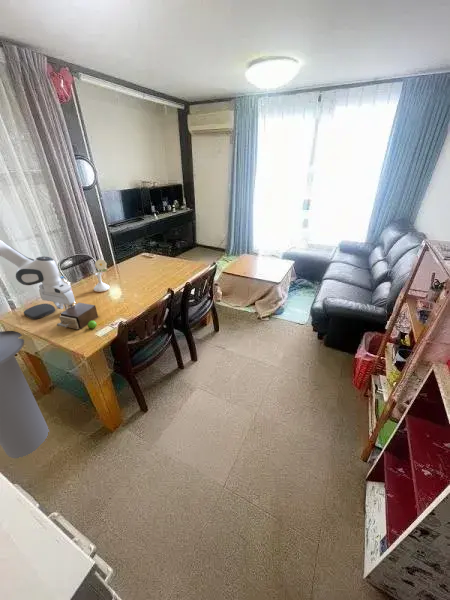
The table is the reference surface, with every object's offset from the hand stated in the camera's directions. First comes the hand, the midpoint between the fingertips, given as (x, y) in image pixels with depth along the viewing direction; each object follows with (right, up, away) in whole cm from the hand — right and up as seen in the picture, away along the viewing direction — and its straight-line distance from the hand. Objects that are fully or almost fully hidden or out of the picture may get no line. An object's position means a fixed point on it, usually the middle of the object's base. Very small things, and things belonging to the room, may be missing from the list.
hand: (60, 308), depth 144 cm
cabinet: (+3, -9, +16) cm, 19 cm away
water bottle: (-9, -3, +27) cm, 29 cm away
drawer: (+1, -10, +12) cm, 15 cm away
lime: (+13, -12, +10) cm, 20 cm away
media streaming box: (-29, -4, +24) cm, 38 cm away
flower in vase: (-3, +12, +56) cm, 58 cm away
